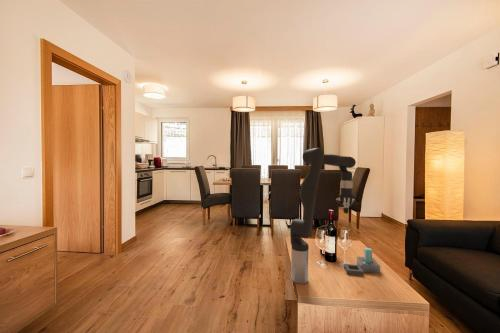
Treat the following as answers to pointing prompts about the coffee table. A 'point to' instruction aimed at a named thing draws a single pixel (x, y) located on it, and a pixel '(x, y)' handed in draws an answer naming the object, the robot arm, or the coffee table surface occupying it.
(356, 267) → the dark grey shallow dish
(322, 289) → the coffee table surface
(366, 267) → the port block
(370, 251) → the plug
